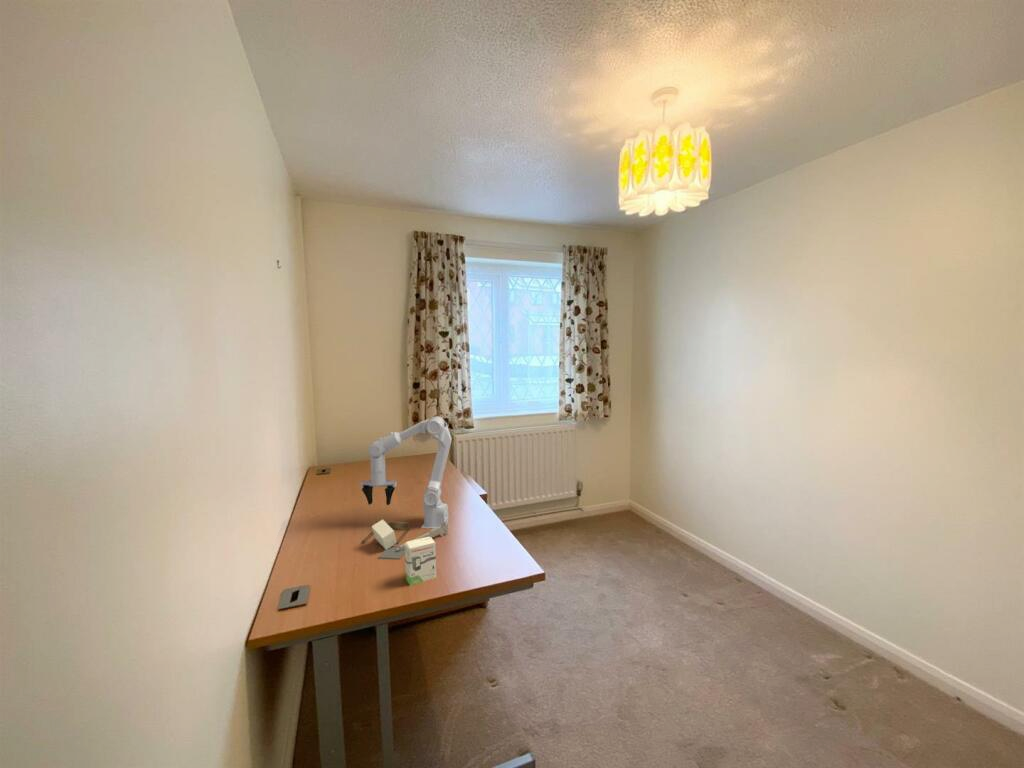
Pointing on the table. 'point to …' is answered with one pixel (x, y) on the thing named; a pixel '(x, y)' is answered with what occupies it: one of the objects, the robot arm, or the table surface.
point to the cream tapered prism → (384, 534)
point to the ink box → (420, 560)
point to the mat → (392, 553)
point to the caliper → (430, 534)
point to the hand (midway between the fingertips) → (379, 504)
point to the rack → (395, 527)
